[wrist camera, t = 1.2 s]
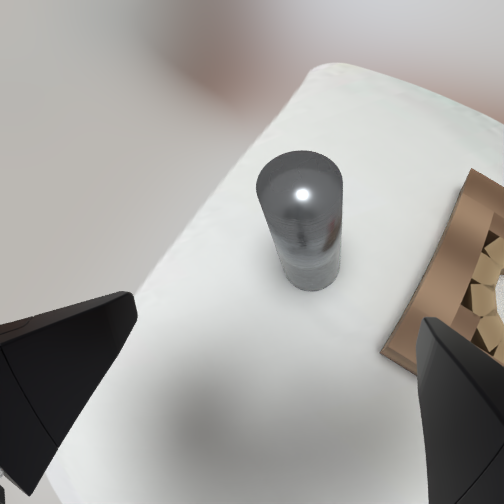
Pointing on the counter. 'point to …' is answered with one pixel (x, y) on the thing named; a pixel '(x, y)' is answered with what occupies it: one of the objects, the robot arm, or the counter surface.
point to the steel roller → (304, 216)
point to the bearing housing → (461, 277)
